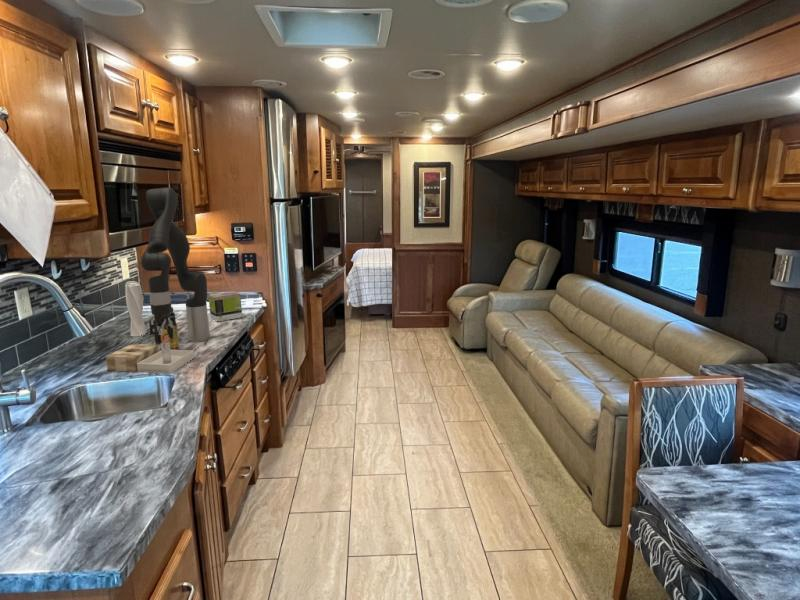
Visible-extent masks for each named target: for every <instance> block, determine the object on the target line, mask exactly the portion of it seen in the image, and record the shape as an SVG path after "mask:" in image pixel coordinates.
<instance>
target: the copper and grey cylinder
mask: <svg viewBox="0 0 800 600" xmlns="http://www.w3.org/2000/svg"><path fill="white" fill-rule="evenodd" d="M160 335H161V342H162V343H161V344H160V349H161V350H162V359H163V363H164V364H168V363H171V353H170V343H169V334H162V333H161V334H160Z"/></svg>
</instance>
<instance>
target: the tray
mask: <svg viewBox="0 0 800 600" xmlns="http://www.w3.org/2000/svg"><path fill="white" fill-rule="evenodd" d="M170 353H171V363H168V364H164V363H163V359H162V349H161V350H159V352H157V353H155V354H154V355H152V356H150V357H148V358H146V359H144V360H142V361H141V362H139V363H137V369H138V370H137V373H139V372H140V373H159V374H172V373H174V372H175V371H177V370H178V369H180V368H182V367H183V366H185V365H186V364H188V363H190V362H191V361H193V360H194V359H195V351H194V350H188V349H178V350H170ZM193 358H194V359H193ZM192 359H193V360H192ZM190 360H191V361H190ZM187 362H188V363H187ZM184 364H185V365H184Z"/></svg>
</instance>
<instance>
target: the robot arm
mask: <svg viewBox="0 0 800 600" xmlns="http://www.w3.org/2000/svg"><path fill="white" fill-rule="evenodd" d="M145 197H146V202H147V205H148V207H149V210H150V212H151V213H152V215H153V217H154V220H155V222H154V224H153V225H152V227H151V229H150V232H149V238H148V244H147V246H146V249H145V251H144V252H143V255H142V256H141V260H140V263H141V264H140V265H141V267H142V268H143V270H145V271H147V272H157V271H160V272H161V273H160V274H159V275H157V276H156V275H155V276H151V277H150V278H149V279H148V289H149V302H150V303H149V304H150V311H151V314H152V315H153V317H154V318H153V319H149V321H148V325H149V335H151V336H154V342H155V345H161V343H162V342H161V334H162V330H163V327H165V326H166V327H167V328H168V329H167V334H169V338H172V337H174V335H173V328H174V326H176V323H177V321H176V313H175V312H174V311H173V312H172V307H173V306H172V298H171V292H170V285H169V276H170V269H171V265H172V263H173V265H174V269H175V273H176V276H177V280H178V282H179V286H180V288H181V289H182V290H183V291H185V292H194V293H193V297H190V298H187V299H186V300H185V308H186V309H185V311H186V319H187V321H186V323H187V332H188V340H189V342H192V341H194V343H198V342H197V341H201V342H204V341H203V340H205V341H208V340H209V339H210V337H211V333H210V323H209V317H208V316H209V315H208V306H207V305H208V304H207V301H208V280H207V277H206V275H205V274H204V273H203V272H196V271H190V269H189V266H188V261H187V260H188V258H189V255H190V250H191V247H190V243H189V240H188V238H187V234H186V233H185V232H184V231H183V230H182V228H181V227H179V226H178V225H176V223H174V222H173V221H174V218H175V215H176V214H175V213H176V211H177V207H178V196H177V193H176V191H175V190H174V189H173V188H172V187H160V188H151V189H148V190H146V192H145ZM167 250H168V253H169V254H168V253H167V252H165V251H167ZM172 321H173V323H172ZM209 336H210V337H209ZM207 339H208V340H207Z"/></svg>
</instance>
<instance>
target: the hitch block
mask: <svg viewBox="0 0 800 600" xmlns="http://www.w3.org/2000/svg"><path fill="white" fill-rule="evenodd" d="M159 351H160V350H159V344H141V343H140V344H139V343H131V344H129V345H126V346H124V347H123V348H120V349H118V350H115V351H113V352H111V353H109V354H108V355H106V356H105V360H106V367H107V368H106V369H107V371H113V370H114V372H115V371H116V372H117V371H118V372H121V371H122V372H133V373H134V372H138V369H137V363H139V362H141V361H142V360H144V359H146V358H148V357H150V356H152V355H154V354H155V353H157V352H159Z"/></svg>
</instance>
